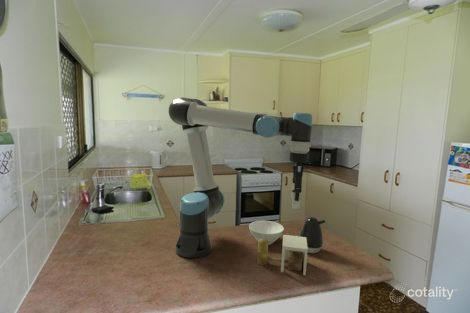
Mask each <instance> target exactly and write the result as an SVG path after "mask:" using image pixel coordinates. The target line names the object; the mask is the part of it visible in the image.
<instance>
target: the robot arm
mask: <svg viewBox="0 0 470 313" xmlns="http://www.w3.org/2000/svg"><path fill="white" fill-rule="evenodd" d="M168 115H169V119H171V121H173V122H174V124H176V125H179V126H181V127H182V132H184V133H185V134H186V136H187V142H188V147H189V154H190V157H191V158H190V159H191V165H192V169H193V176H194V182H195V187H194V188H193V192H191V193H186V194H185V195H183V196H182V197H181V199H180V203H179V204H180V205H179V233H178V237H177V240H176V242H175V246H174V247H175V249H174V250H175V251H174V252H175V253H176V254H177V256H180V257H182V258H187V259H197V258H202V257H205V256H207V255H208V254H210V253H211V251H212V242H211V241H212V240H211V238H210V236H209V229H208V228H209V220H210V219H211V218H213V217H214V216H215V215H217V214H218V213H220V211H221V210H222V209H223V208H224V206H225V196H224V194H223V192H222V191H221V190H220V187H219V184H218V183H216V182H215V177H214V172H213V166H212V161H211V160H212V159H211V155H210V149H209V144H208V137H207V132H206V131H207V130H208V128H209V127H212V128H218V129H224V130H229V131H235V132H238V133H246V134H251V135H256V136H260V137H262V138H267V139H270V138H272V137H276V136H280V137H281V136H284V137H290V146H289V147H290V148H289V151H290V152H289V158H288V159H289V162H292V163H294V164H293V165H292V180H291V181H292V184H291V185H292V186H291V196H290V199H291V200H292V207H291V208H292V209H295V210H300V206H301V198H302V196H301V195H302V192H303V191H302V190H303V189H302V184H303V175H304V174H303V172H304V166H303V163H304V164H306V163H308V162H309V158H310V154H309V152H310V148H311V147H312V144H311V137H312V127H313V115H312V114H311V113H309V112H293V114H292V117H289V116H288V117H287V116H286V117H285V116H276V115H275V116H272V115H265V114H257V113H252V112H245V111H240V110H234V109H227V108H220V107H215V106H214V107H213V106H208V105H207V104H206V102H204V101H202V100H200V99H198V98H188V97H177V98H175V99H174V100H172V101H171V102H170V104H169V107H168Z"/></svg>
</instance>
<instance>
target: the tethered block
mask: <svg viewBox="0 0 470 313" xmlns="http://www.w3.org/2000/svg"><path fill="white" fill-rule="evenodd" d="M268 255H269V245H268V240H266V239H259V240H258V241H257V255H256V256H257V257H256V263H257V264H258V265H259V266H266V265H267V264H268V261H270V262H280V263H281V261H282V258H277V257H272V256H271V257H270V256H268ZM284 264H287V270H290V271H296V272H302V268H303V263H302V253H300V252H292V251H289V254H288V260H287V259H284Z"/></svg>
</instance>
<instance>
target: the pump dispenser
mask: <svg viewBox="0 0 470 313" xmlns="http://www.w3.org/2000/svg"><path fill="white" fill-rule="evenodd" d="M325 223H326V220H325V219H323V220H318V218H316V217H315V216H310V217H309V216H308V218H306V220H305V221H304V223H303V224H302V227H301V228H300V229H301V230H300V231H299V237H306V240H307V248H308V251H307V254H316V253H319V252H320V250H322V247H323V245H324V235H323V234H324V233H323V229H322V226H321V225H322V224H325Z"/></svg>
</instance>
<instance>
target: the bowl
mask: <svg viewBox="0 0 470 313" xmlns="http://www.w3.org/2000/svg"><path fill="white" fill-rule="evenodd" d="M248 229H249V232H250V234H251V235H252V236H253V238H255V240H256V242H258V240H259V239H266V240H268V246H269V245H273V244H274V243H275V242H276V241H277V240H278V239H279V238H280V237H282V236H283V233H284V230H285V228H284V226H283V225H282V224H280V223H278V222H275V221H270V220H256V221H252V222H251V223H250V224H248Z"/></svg>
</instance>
